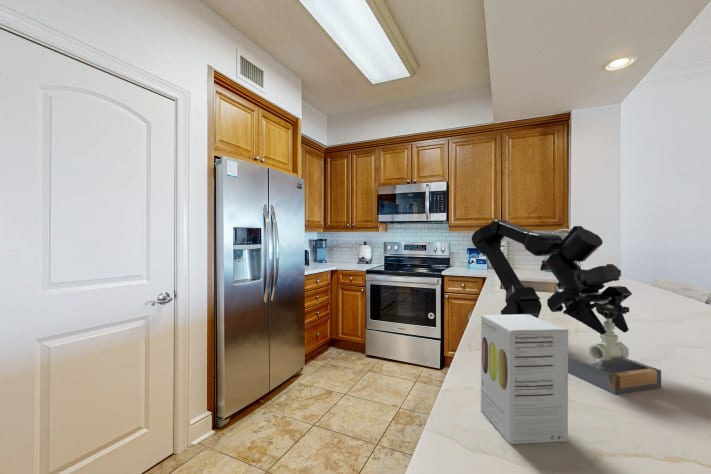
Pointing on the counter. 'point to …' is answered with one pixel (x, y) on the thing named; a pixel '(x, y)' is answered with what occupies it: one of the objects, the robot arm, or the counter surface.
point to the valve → (609, 335)
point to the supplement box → (525, 378)
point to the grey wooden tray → (616, 375)
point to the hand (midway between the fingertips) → (615, 332)
